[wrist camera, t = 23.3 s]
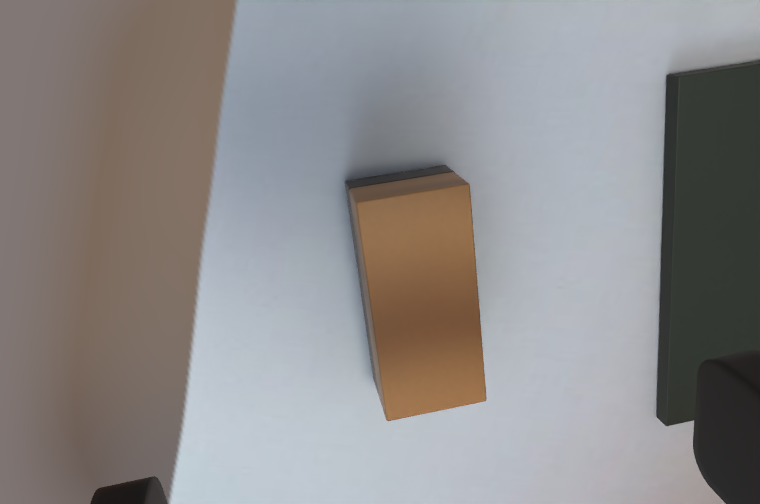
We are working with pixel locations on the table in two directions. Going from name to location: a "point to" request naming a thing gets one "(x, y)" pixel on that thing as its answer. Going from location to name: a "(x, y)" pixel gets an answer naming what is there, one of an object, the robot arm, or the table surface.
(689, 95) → the chalkboard
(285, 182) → the table surface
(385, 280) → the eraser
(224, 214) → the table surface
